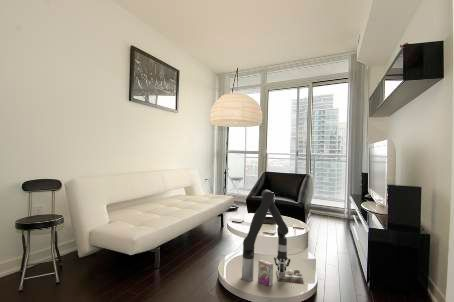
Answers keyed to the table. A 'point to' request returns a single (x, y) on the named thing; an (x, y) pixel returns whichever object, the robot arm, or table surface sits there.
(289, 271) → the ball
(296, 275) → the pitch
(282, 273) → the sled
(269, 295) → the table surface
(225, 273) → the table surface
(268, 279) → the candy bar box
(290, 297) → the table surface
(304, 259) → the table surface
